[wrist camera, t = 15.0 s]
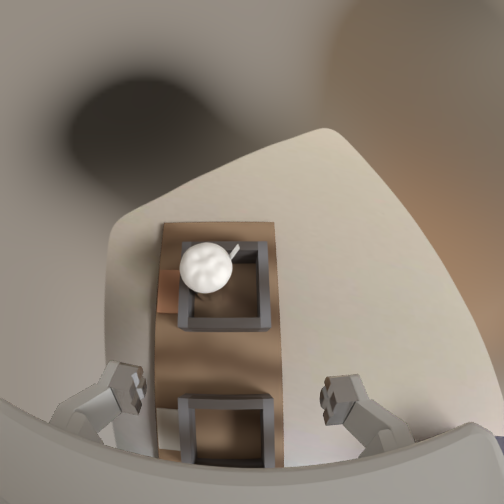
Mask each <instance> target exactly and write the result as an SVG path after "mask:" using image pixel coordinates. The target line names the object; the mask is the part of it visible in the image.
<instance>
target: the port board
mask: <svg viewBox="0 0 504 504" xmlns="http://www.w3.org/2000/svg"><path fill="white" fill-rule="evenodd" d="M205 242H208V243H214V244H217V245H219V246H221V247H222V248H224V249H225V250H226V252H227V253H228V254H229V255H230V253H231V252H232V251H233V249H234V248H235V247H236V245H237V244H239V246H240V249H239V250H238V252H237V253H236V254H235V256H234V257H233V258H232V260H231V262H232V273H231V277H230V280H229V286H228V293H227V295H226V297H225V298H224V300H223V301H222V302H220V303H217V304H214V305H213V304H210V303H206V302H204V301H203V300H202V299H201V298H200V297H199V296H198V295H197V294H196V293H195V292H194V291H193V290H191V289H190V288H189V287H188V286H187V285H186V284H185V283H184V281H183V280H182V277H181V274H180V263H181V259H182V257H183V254H184V253H185V252H186V250H188V249H189V248H190V247H192V246H194V245H197V244H200V243H205ZM155 410H156V429H157V442H158V453H159V459H164V460H169V461H175V462H181V463H189V464H196V465H205V466H217V467H232V468H284V430H283V388H282V358H281V334H280V312H279V293H278V275H277V258H276V243H275V228H274V222H193V223H164V229H163V237H162V246H161V255H160V265H159V276H158V289H157V303H156V323H155Z"/></svg>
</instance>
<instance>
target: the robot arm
mask: <svg viewBox="0 0 504 504" xmlns="http://www.w3.org/2000/svg"><path fill="white" fill-rule="evenodd" d="M142 374H143V369H142V367H141V366H136V365H132V364H127V363H122V362H118V361H113V360H111V361H110V362H109V363H108V364H107V366H106V368H105V370H104V372H103V374H102V376H101V378H100V380H99V382H98V384H93V385H91V386H90V387H88V388H86V389H85V390H83V391H81V392H79V393H78V394H76V395H74V396H72V397H71V398H69V399H67V400H65V401H64V402H62V403H60V404H59V405H58V407H57V409H56V410H55V412H54V414H53V416H52V418H51V420H50V422H49V423H47V422H45V421H43V420H41V419H39V418H37V417H35V416H33V415H31V414H29V413H27V412H25V411H24V410H21V409H20V408H18V407H16V406H15V405H13V404H11V403H10V402H8V401H6V400H5V399H3V398H1V397H0V504H504V455H503V453H502V450H501V448H500V446H499V444H498V442H497V440H496V438H495V436H494V435H493V433H492V432H491V431H489V430H488V429H486V428H484V427H482V426H480V425H479V424H476V423H474V422H468V423H465V424H463V425H461V426H458V427H456V428H454V429H452V430H449V431H447V432H444V433H442V434H439V435H437V436H434V437H432V438H429V439H426V440H423V441H420V442H417V443H415V441H414V439H413V436H412V434H411V432H410V429H409V427H408V425H407V423H405V422H404V421H402V420H401V419H400V418H398V417H397V416H395V415H394V414H392V413H391V412H390V411H388V410H387V409H385V408H384V407H383V406H381V405H380V404H378V403H377V402H376V401H374V400H373V399H369V397H368V394H367V392H366V390H365V387H364V385H363V382H362V380H361V378H360V375H358V374H353V375H341V376H328V377H326V379H325V381H324V383H325V386H324V387H323V388H322V389H321V392H320V404H321V407H322V408H323V409H324V410H325V411H324V413H323V417H324V421H325V425H326V426H327V425H339V424H343V426H344V427H345V428H346V429H347V430H348V431H349V432H350V433H351V434H352V435H353V436H354V437H355V438H356V439H357V440H358V441H359V442H360V443H361V444H362V445H363V446H364V447H365V450H364V451H363V452H362V453H361V454H360V456H359V457H358V458H357V459H352V460H347V461H341V462H334V463H327V464H319V465H310V466H299V467H284V468H232V467H217V466H205V465H196V464H189V463H181V462H175V461H169V460H164V459H158V458H153V457H149V456H144V455H140V454H136V453H132V452H128V451H124V450H120V449H117V448H113V447H110V446H107V445H104V443H103V441H102V440H101V438H100V437H99V436H98V434H97V433H98V432H99V431H100V430H102V429H103V428H104V427H105V426H107V425H108V424H109V423H110V422H111V421H113V420H114V419H115V418H116V417H117V416H118V415H120V414H121V412H124V413H129V414H134V415H139V412H140V409H141V406H142V403H141V399H142V398H144V397H145V394H146V388H147V385H146V379H145V378H144V377H143V376H142Z"/></svg>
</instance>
